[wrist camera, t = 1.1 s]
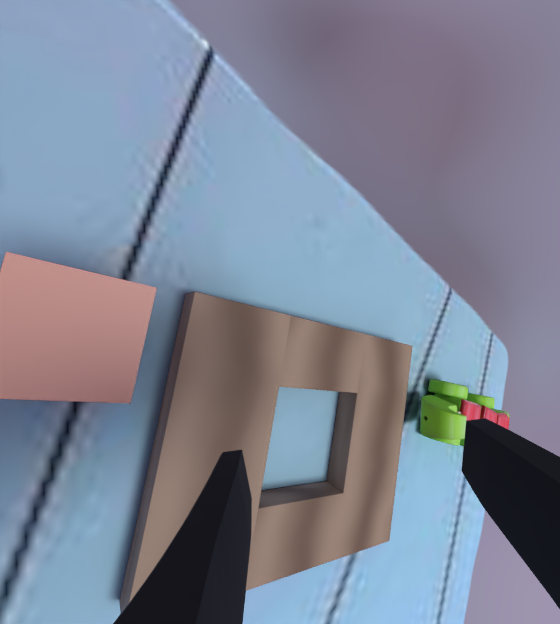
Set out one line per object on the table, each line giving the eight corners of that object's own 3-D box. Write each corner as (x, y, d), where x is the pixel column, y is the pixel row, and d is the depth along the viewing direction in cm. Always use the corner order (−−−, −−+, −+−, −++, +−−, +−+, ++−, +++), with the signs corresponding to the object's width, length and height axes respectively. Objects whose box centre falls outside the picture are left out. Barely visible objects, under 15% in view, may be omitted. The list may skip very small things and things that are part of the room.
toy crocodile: (482, 398, 42) (537, 410, 37) (476, 445, 41) (531, 464, 35) (404, 369, 32) (464, 379, 26) (392, 431, 30) (452, 455, 25)
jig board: (119, 600, 16) (122, 633, 15) (185, 293, 19) (195, 291, 17) (371, 527, 28) (389, 540, 27) (394, 344, 30) (412, 345, 29)
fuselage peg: (23, 357, 14) (-37, 397, 8) (44, 279, 15) (6, 251, 8) (114, 366, 16) (130, 403, 10) (130, 297, 17) (156, 287, 10)
